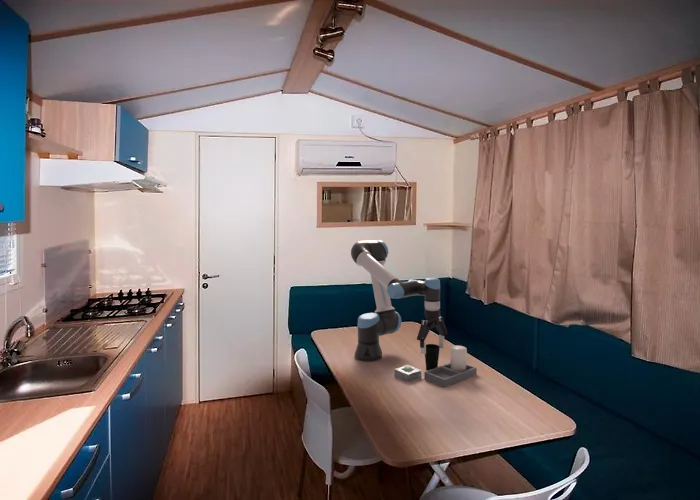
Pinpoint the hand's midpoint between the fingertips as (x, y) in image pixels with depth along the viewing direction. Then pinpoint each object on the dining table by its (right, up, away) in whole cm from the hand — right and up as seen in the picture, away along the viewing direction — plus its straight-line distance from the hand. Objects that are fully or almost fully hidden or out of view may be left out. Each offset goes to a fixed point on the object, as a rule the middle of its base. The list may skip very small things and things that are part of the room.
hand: (432, 350), depth 208 cm
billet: (+12, -9, -5) cm, 16 cm away
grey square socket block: (-13, -11, -8) cm, 19 cm away
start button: (-13, -10, -8) cm, 18 cm away
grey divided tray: (+7, -11, -8) cm, 15 cm away
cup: (0, -10, +1) cm, 10 cm away
